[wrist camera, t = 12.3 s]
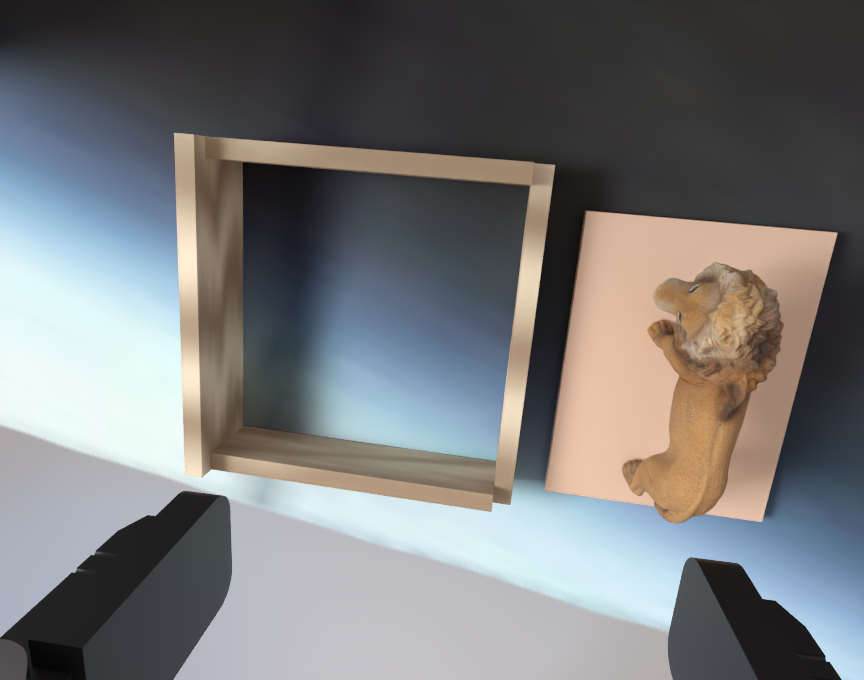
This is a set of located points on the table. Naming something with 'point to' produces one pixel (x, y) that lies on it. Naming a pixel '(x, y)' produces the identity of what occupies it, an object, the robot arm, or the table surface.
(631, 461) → the lion figurine
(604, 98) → the table surface
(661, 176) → the table surface
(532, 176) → the frame
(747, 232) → the terracotta tile
